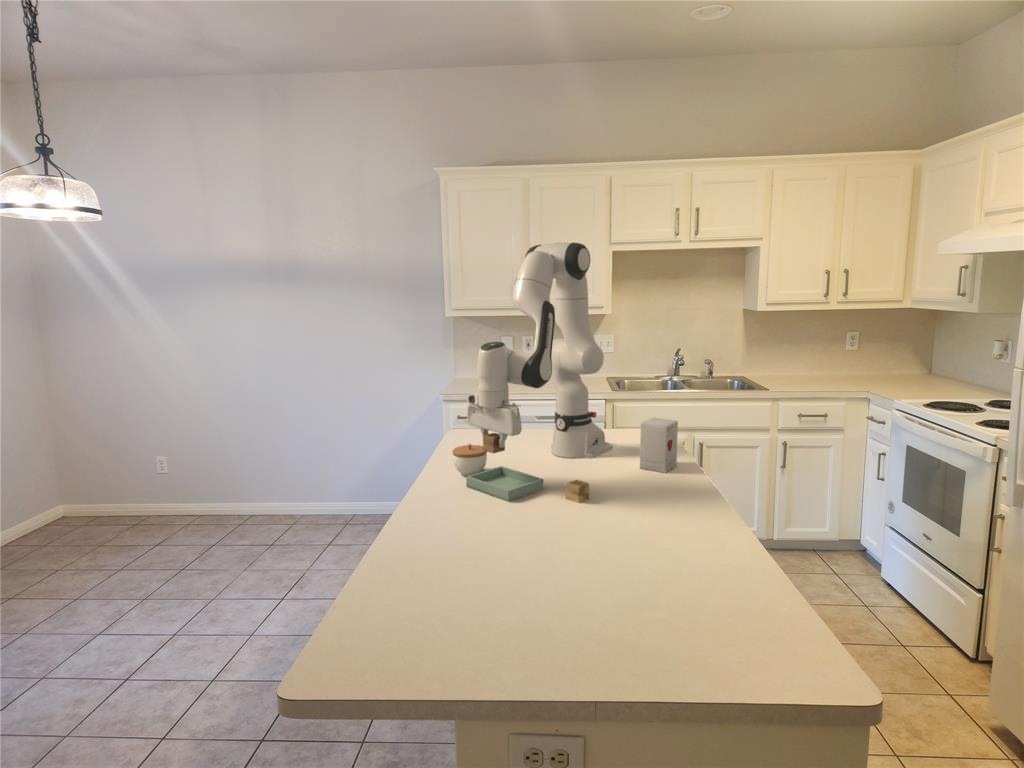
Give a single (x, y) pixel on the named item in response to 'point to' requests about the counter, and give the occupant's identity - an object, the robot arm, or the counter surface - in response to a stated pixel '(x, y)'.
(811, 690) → the counter surface
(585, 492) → the oak block
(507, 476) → the tray
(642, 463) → the supplement box
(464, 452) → the lidded jar
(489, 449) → the walnut block
